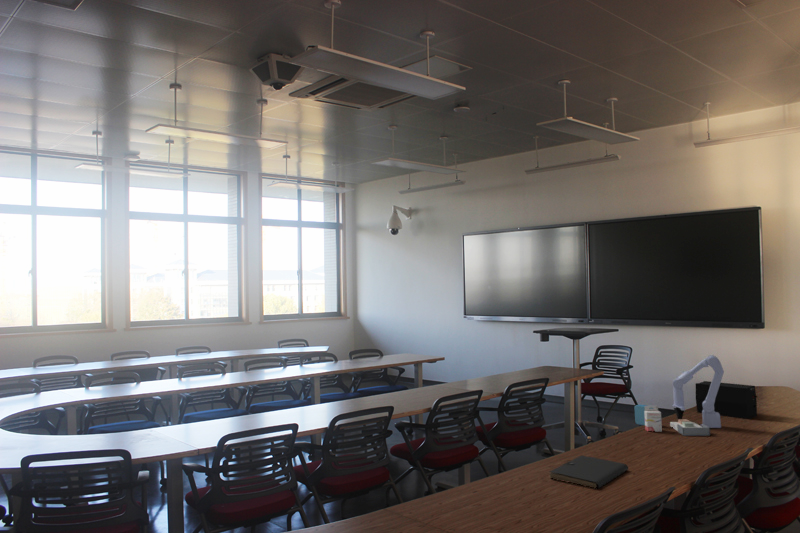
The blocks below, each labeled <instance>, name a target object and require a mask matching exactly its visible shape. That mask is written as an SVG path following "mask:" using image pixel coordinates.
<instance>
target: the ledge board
mask: <svg viewBox="0 0 800 533" xmlns="http://www.w3.org/2000/svg"><path fill="white" fill-rule="evenodd" d="M691 422H692V423H694V427H685V426H683V425H682V424H680V423H678V421H670V422H669V426H670V427H671V428H672V427H673V428H672V429H674V430H675V431H677V432H678V428H677V424H679V425H680V426H682V427H683V428H703V426H701V425H699V424H698V423H697V422H694V421H691Z"/></svg>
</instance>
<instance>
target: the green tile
mask: <svg viewBox="0 0 800 533" xmlns="http://www.w3.org/2000/svg"><path fill="white" fill-rule="evenodd" d="M692 422H693V421H690V422H682V425H683V426H685V427H694V423H692Z"/></svg>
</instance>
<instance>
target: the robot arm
mask: <svg viewBox="0 0 800 533" xmlns="http://www.w3.org/2000/svg"><path fill="white" fill-rule="evenodd" d="M709 366H710V367H711V368H712V370H713V371H714V373H713V376H712V380H711V381H710V382H711V385H710V388H709V392H708V395H707V397H706V399H705V401H703V403H702V406H703V411H702V413H701V417H702V423H701V424H700V426H701V427H703V424H704V425H706V426H708V427H709V428H710V429H721V428H722V424H721V416H720V414H719V413H718V412H715V411H714V403H715V398H716V395H717V392H718V389H719V386H720V383H722V380H723V376H724V372H725V371H724V368H723V365H722V363H721V360H720V359H719V358H718V356H716V355H714V354H709V355H708V356H707V357H705V358H704V359H702V360H700V361H699V362H698V363H696V365H695V366H694V367H692V368H691V369H689V370H686V371H682V373H681V374H680V375H678V376H676V378H674V379H673V380H672V386H673V388H672V390H673V392H672V394H673V395H672V396H673V404H672V405H671V406H672V407H673V410H674V412H675V415H676V418H677V420H678V419H683V416H684V413H685V411H686V407H685V401H684V389H683V387H684V385H686V384H687V383H689V382H690V381H691V380H693V378H694V375H695V374H697V373H698V372H699V371H701V370H702V369H704V368H709Z"/></svg>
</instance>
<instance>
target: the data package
mask: <svg viewBox="0 0 800 533" xmlns="http://www.w3.org/2000/svg"><path fill="white" fill-rule="evenodd" d="M645 406H649V405H646V404H636V405H634V407H633V408H634V419H635V420H634V421H635V424H637V425H641V426H645V415H644V411H645ZM649 409H654V408H652V407H651V408H649Z"/></svg>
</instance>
